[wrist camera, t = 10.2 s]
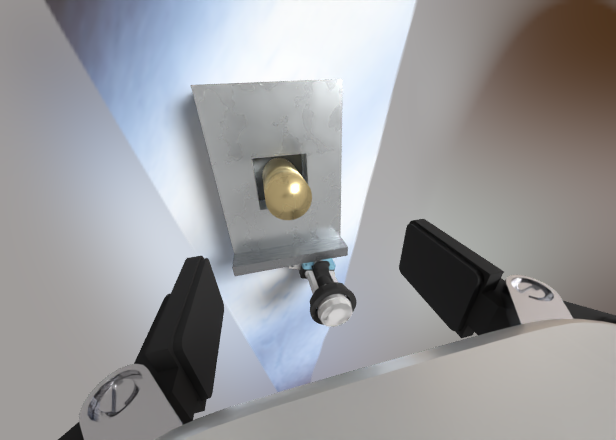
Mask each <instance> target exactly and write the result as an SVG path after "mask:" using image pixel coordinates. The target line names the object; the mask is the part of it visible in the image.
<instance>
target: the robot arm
mask: <svg viewBox="0 0 616 440" xmlns="http://www.w3.org/2000/svg"><path fill="white" fill-rule="evenodd" d="M399 270H400V272H401V274H402V275H403V276H404V277H405V278H406V279H407V281H408V282H409V283H410V284H411V285H412V286H413V287H414V288H415V290H416V291H417V292H418V293H419V294H420V295H421V296H422V298H423V299H424V300H425V301H426V302H427V303H428V304H429V305H430V307H431V308H432V309H433V310H434V311H435V312H436V313H437V314H438V315H439V317H440V318H441V319H442V320H443V321H444V322H445V323H446V325H447V326H448V327H449V328H450V329H451V330H453V331H455V332H456V333H457V334H458V335H459V336H460V337H461V338H464V337H467V336H471V335H473V333H474V332H475V333H476V334H477V335H478V336H475V337H471V338H467V339H464V340H461V341H456V342H453V343H450V344H446V345H442V346H438V347H435V348H431V349H428V350H424V351H421V352H417V353H413V354H410V355H406V356H403V357H399V358H396V359H392V360H389V361H385V362H382V363H378V364H375V365H371V366H368V367H364V368H361V369H357V370H353V371H350V372H347V373H343V374H340V375H336V376H333V377H329V378H326V379H323V380H319V381H315V382H312V383H308V384H305V385H302V386H298V387H295V388H291V389H288V390H284V391H281V392H277V393H274V394H271V395H268V396H265V397H261V398H258V399H255V400H252V401H248V402H245V403H242V404H239V405H235V406H232V407H229V408H226V409H223V410H220V411H217V412H214V413H212V414H209V415H206V416H203V417H201V418H198V419H195V420H193V417H194V413H198V412H201V411H204V410H205V405H206V399H208V398H211V396H212V392H213V384H214V378H215V371H216V362H217V356H218V349H219V342H220V334H221V328H222V321H223V313H224V304H223V300H222V297H221V295H220V292H219V289H218V286H217V283H216V280H215V277H214V274H213V271H212V268H211V265H210V262H209V260H208V258H206V259H204V258H203V256H197V257H191V258H187V259H186V260H185V263H184V265H183V267H182V269H181V272H180V274H179V277H178V279H177V281H176V283H175V286H174V288H173V290H172V292H171V294H168V295H167V296H166V297H165V298H164V300H163V302H162V304H161V307H160V309H159V311H158V313H157V315H156V317H155V320H154V322H153V324H152V326H151V328H150V331H149V333H148V335H147V337H146V339H145V341H144V343H143V346H142V348H141V350H140V352H139V354H138V356H137V359H136V361H135V363H134V364H132V365H127V366H125V367H122V368H120V369H118V370H116V371H115V372H113V373H111V374H110V375H108V376H107V377H106V378H105V379H104V380H102V381H101V382H100V383H99V384H98V385H97V386H96V387H95V388H94V389H93V390H92V392H91V393H90V394H89V395H88V397H87V399H86V400H85V402H84V403H83V406H82V408H81V411H80V414H79V422H78V423H77V424H76V425H75V426H74V427H72V428H71V429H70V430H69V431H68V432H67V433H65V435H63V436H62V437H61V438H59V439H58V440H616V316H615V315H612V314H608V313H604V312H601V311H598V310H594V309H590V308H587V307H583V306H579V305H576V304H573V303H569V302H566V301H562V299H561V297H560V296H559V294H558V293H557V292H556V291H555V290H554V289H552V288H551V287H550V286H548V285H547V284H545V283H543V282H542V281H539V280H537V279H534V278H531V277H528V276H523V275H511V276H508V277H507V278H506V280H505V281H504V280H503V279H501V276H502V274H503V271H502V270H501V269H499V268H498V267H496V266H494V265H493V264H492V263H490V262H489V261H487V260H486V259H484V258H482V257H481V256H479V255H478V254H476V253H475V252H473V251H472V250H470V249H469V248H467V247H466V246H464V245H463V244H461V243H460V242H458V241H457V240H455V239H454V238H452V237H450V236H449V235H448V234H446V233H445V232H443V231H442V230H440V229H438V228H437V227H436V226H434V225H433V224H431V223H429V222H428V221H426V220H425V219H419V220H413V221H411V222H410V223H409V224H408V225H407V228H406V233H405V239H404V244H403V249H402V255H401V260H400V265H399Z"/></svg>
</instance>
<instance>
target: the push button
mask: <svg viewBox="0 0 616 440" xmlns="http://www.w3.org/2000/svg"><path fill="white" fill-rule="evenodd" d="M289 269H296V270H300V271H299V273H300V276H301V278H308V281H309V284H310V287H311V290H312V293H313V295H312V297H311V299H310V313H311V317H312V319H313V320H314V321H315V322H317V323H319V324H323V325H326V326H329V327H335V326H340V325H342V324H343V323H345V322H346V321H348V319H349V318H350V317H351V315H352V312H353V311H354V309H355V307H356V298H355V296H354V294H353V293H352V292H351V291H350V290H348V289H347V288H346V287H345V286H344V285H343V284H342V283H338V281H337V279H336V277H335V272H334V270H335V264H334V262H333V260H332V258H330V259H325V260H319V261H314V262H309V263H303V264H298V265H294V267H291V266H289ZM345 295H346V296H345Z"/></svg>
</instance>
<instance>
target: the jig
mask: <svg viewBox="0 0 616 440" xmlns="http://www.w3.org/2000/svg"><path fill="white" fill-rule="evenodd" d="M342 84H343V79H330V80H305V81H280V82H255V83H230V84H205V85H191V88H192V92H193V96H194V100H195V104H196V108H197V112H198V115H199V119H200V123H201V127H202V131H203V135H204V139H205V143H206V146H207V150H208V154H209V158H210V162H211V166H212V170H213V174H214V177H215V181H216V185H217V189H218V193H219V197H220V201H221V205H222V208H223V212H224V216H225V220H226V224H227V228H228V232H229V236H230V239H231V243H232V247H233V251H234V260H233V267H232V268H233V271H234V275H235V276H238V275H244V274H249V273H255V272H260V271H265V270H271V269H276V268H282V267H287V266H292V265H298V264H303V263H309V262H314V261H319V260H325V259H330V258H336V257H341V256H346V255H347V252H348V247H347V245H346V244H345V242H344V241H343V239H342V238H341V237H340V219H341V151H342ZM295 154H301V158H302V173H303V179H304V180H305V181H306V183H307V184H308V185H309V187H310V189H311V192H312V202H311V205H310V208H309V209H308V211H307V212H306V213H305V214H304V215H303V216H301V217H299V218H297V219H294V220H282V219H279V218H276V217H275V216H273V215H272V214H271V213H270V211H269V210H268V208H267V206H266V201H265V200H259V195H258V189H257V183H256V177H255V171H254V165H253V159H254V158H264V157H274V156H285V155H295Z"/></svg>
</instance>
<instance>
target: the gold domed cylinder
mask: <svg viewBox="0 0 616 440" xmlns="http://www.w3.org/2000/svg"><path fill="white" fill-rule="evenodd" d="M262 178H263V186H264V194H265V201H266V206H267V208H268V210H269V211H270V213H271V214H272V215H273V216H275V217H276V218H279V219H282V220H294V219H297V218H299V217H301V216H303V215H304V214H305V213H306V212H307V211H308V209H309V208H310V205H311V202H312V192H311V189H310V187H309V185H308V184H307V183H306V181H305V180H304V179H303V177H302V176H301V175H300V173H299V172H298V171H297V169H296V168H295V167H294V165H293V164H292V163H291V162H290V161H289V160H287V159H284V158H275V159H272V160H270V161H269V162H267V164H266V165H265V166H264V168H263V172H262Z"/></svg>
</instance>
